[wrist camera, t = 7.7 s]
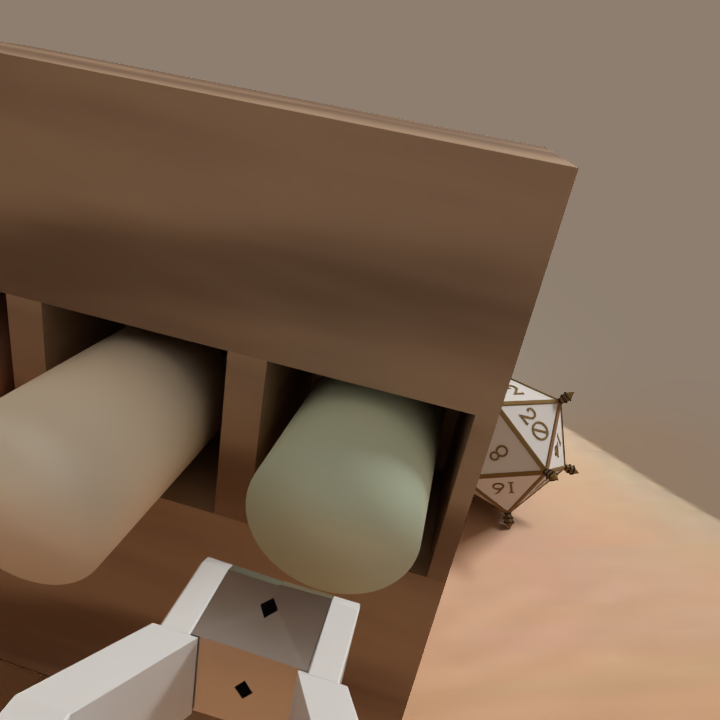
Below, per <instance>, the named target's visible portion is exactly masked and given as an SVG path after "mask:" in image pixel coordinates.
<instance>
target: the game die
mask: <svg viewBox="0 0 720 720" xmlns="http://www.w3.org/2000/svg"><path fill="white" fill-rule="evenodd" d="M573 394H574V392H569V393H566V392H564V394H563V395H561V397H560V398H559V399H557V398H554V397H552V396H550V395H548V394H545V393H543V392H541V391H539V390H536V389H534V388H532V387H530V386H527V385H525V384H523V383H521V382H518V381H516V380H514V379H512V378H511V380H510V383H509V386H508V390H507V393H506V396H505V399H504V402H503V405H502V408H501V411H500V414H499V418H498V421H497V424H496V427H495V430H494V433H493V436H492V439H491V443H490V446H489V449H488V452H487V455H486V458H485V461H484V464H483V467H482V471H481V474H480V477H479V480H478V483H477V486H476V489H475V492H474V495H475V496H477V497H478V498H480V499H482V500H483V501H485V502H487V503H489V504H490V505H492V506H494V507H495V508H497V509H499V510H500V511H502V512H504V514H505V516H504V518H503V519H504V523H505V524H506V525H507V527H508V528H509V529H510V528H511V526H512V524H513V523H514V521H513V519H512V518H513V517H512V516H511V512H512V511H513V510H514V509H516V508H517V507H518V506H519V505H521V504H522V503H523V502H524V501H526V500H527V499H528V498H529V497H531V496H532V495H533V494H534V493H535V492H537V491H538V490H539V489H540V488H542V487H543V486H544V485H545V484H547V483H548V482H549V481H555V480H558V477H557V476H558V474H559V473H560V472H561V471H563V470H565V471H566V473H569V474H570V475H573V474H576V473H578V471H577V470H576V469H575V466H574V465H573V466H571V464H569V465H566V464H565V450H564V435H563V420H562V407H561V406H562V403H567V402H568V401H569V400H570V401H571V398H572V395H573Z"/></svg>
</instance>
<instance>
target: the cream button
mask: <svg viewBox="0 0 720 720" xmlns="http://www.w3.org/2000/svg"><path fill="white" fill-rule="evenodd" d="M226 364H227V362H226V361H225V359H224V357H223V356H222V354H221V353H220V351H219V350H218V349H217V348H214V347H210V346H207V345H203V344H199V343H195V342H191V341H187V340H183V339H180V338H176V337H172V336H168V335H164V334H160V333H156V332H153V331H149V330H145V329H141V328H137V327H133V326H129V325H128V326H126V327H124V328H123V329H121V330H119V331H117V332H116V333H114V334H112V335H110V336H109V337H107V338H105V339H103V340H102V341H100V342H98V343H96V344H94V345H93V346H91V347H89V348H87V349H86V350H84V351H82V352H80V353H79V354H77V355H75V356H73V357H71V358H70V359H68V360H66V361H64V362H63V363H61V364H59V365H57V366H56V367H54V368H52V369H50V370H48V371H47V372H45V373H43V374H41V375H40V376H38V377H36V378H34V379H33V380H31V381H29V382H27V383H25V384H24V385H22V386H20V387H18V388H17V389H15V390H13V391H11V392H10V393H8V394H6V395H4V396H2V397H1V398H0V569H2V570H4V571H6V572H8V573H10V574H12V575H14V576H17V577H19V578H22V579H24V580H28V581H32V582H35V583H41V584H48V585H62V584H69V583H74V582H77V581H79V580H82V579H84V578H85V577H87V576H89V575H90V574H91V573H92V572H94V571H95V570H96V569H97V568H98V566H99V565H100V564H101V563H102V562H103V561H104V560H105V559H106V557H107V556H108V555H109V554H110V553H111V552H112V551H113V550H114V548H115V547H116V546H117V545H118V544H119V543H120V542H121V541H122V539H123V538H124V537H125V536H126V535H127V534H128V533H129V531H130V530H131V529H132V528H133V527H134V526H135V525H136V524H137V522H138V521H139V520H140V519H141V518H142V517H143V516H144V515H145V513H146V512H147V511H148V510H149V509H150V508H151V507H152V506H153V504H154V503H155V502H156V501H157V500H158V499H159V498H160V497H161V495H162V494H163V493H164V492H165V491H166V490H167V489H168V487H169V486H170V485H171V484H172V483H173V482H174V481H175V480H176V478H177V477H178V476H179V475H180V474H181V473H182V472H183V471H184V469H185V468H186V467H187V466H188V465H189V464H190V463H191V462H192V460H193V459H194V458H195V457H196V456H197V455H198V454H199V452H200V451H201V450H202V449H203V448H204V447H205V446H206V445H207V443H208V442H209V441H210V440H211V439H212V438H213V437H214V436H215V434H216V433H217V432H218V431H219V430H220V429H221V426H222V413H223V401H224V389H225V377H226Z"/></svg>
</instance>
